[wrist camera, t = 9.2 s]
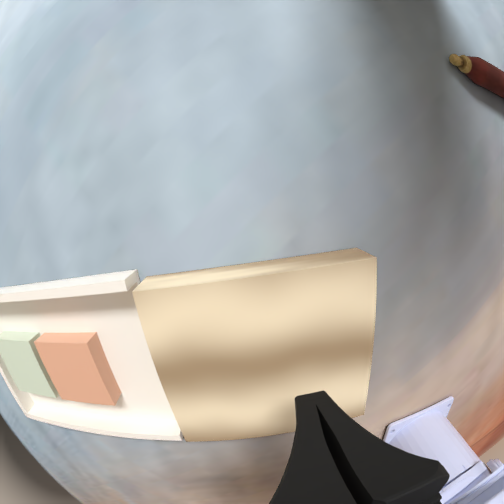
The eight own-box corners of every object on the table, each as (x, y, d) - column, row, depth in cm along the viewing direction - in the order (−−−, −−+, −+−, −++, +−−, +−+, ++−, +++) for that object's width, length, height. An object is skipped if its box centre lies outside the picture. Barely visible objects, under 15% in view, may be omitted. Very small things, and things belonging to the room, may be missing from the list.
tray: (185, 421, 17) (181, 440, 15) (35, 405, 17) (26, 417, 15) (137, 269, 15) (124, 279, 13) (-16, 289, 14) (-30, 297, 12)
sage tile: (19, 390, 14) (27, 381, 16) (56, 398, 14) (64, 387, 16) (-7, 338, 13) (4, 331, 15) (28, 341, 13) (39, 332, 15)
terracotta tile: (121, 392, 16) (115, 405, 15) (69, 388, 16) (61, 399, 14) (96, 331, 15) (86, 343, 13) (44, 332, 15) (33, 341, 13)
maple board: (352, 393, 18) (363, 414, 15) (190, 417, 17) (186, 441, 15) (356, 247, 15) (376, 257, 13) (146, 276, 15) (131, 291, 12)
